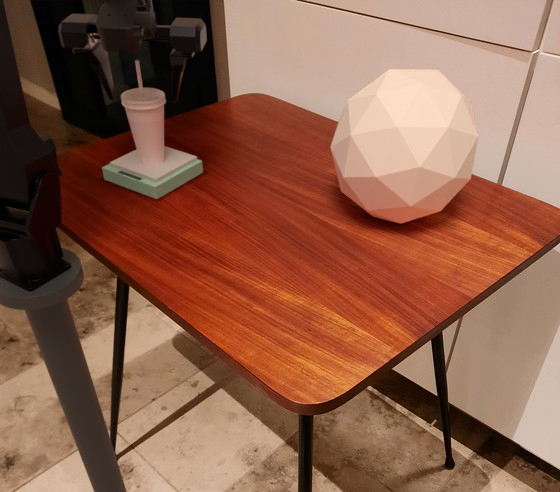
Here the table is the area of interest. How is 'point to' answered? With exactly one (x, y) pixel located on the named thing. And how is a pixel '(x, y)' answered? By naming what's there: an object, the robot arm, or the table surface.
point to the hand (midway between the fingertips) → (143, 100)
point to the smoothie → (146, 120)
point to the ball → (405, 144)
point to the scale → (153, 172)
